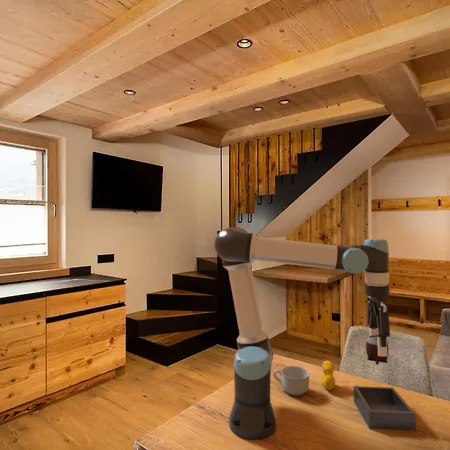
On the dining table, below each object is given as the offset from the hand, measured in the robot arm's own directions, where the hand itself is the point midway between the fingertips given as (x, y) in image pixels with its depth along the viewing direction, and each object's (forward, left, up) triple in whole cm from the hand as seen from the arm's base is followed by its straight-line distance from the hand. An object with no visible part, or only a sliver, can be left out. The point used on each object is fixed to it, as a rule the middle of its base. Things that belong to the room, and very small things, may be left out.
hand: (378, 351), depth 115 cm
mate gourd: (0, 0, -4) cm, 4 cm away
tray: (+1, 0, -22) cm, 22 cm away
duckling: (-13, +19, -22) cm, 31 cm away
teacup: (-28, +15, -22) cm, 38 cm away
